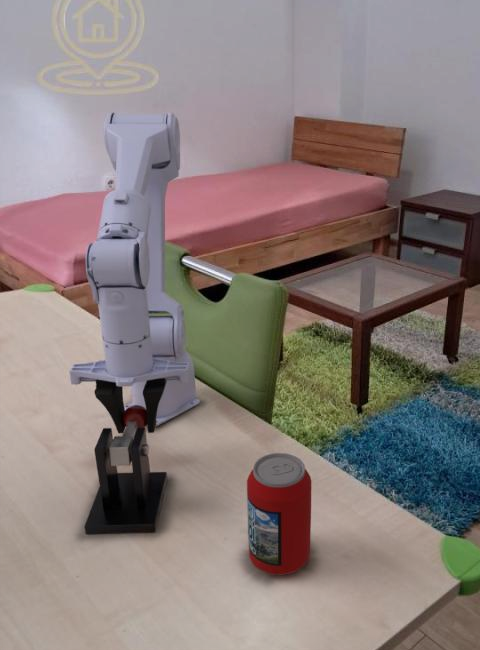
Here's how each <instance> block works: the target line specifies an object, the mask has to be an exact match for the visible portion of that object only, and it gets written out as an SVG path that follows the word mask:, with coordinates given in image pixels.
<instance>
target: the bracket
mask: <svg viewBox="0 0 480 650" xmlns="http://www.w3.org/2000/svg"><path fill="white" fill-rule="evenodd" d="M113 439H114V437H113V430H112V427H103V428H102V430H101V433H100V435H99V437H98V440H97V442H96V444H95V446H94V457H95V463H96V470H97V477H98V478H97V479H98V485H99V487H98V489H97V492H96V495H95V497H94V500H93V503H92V505H91V507H90V510H89V513H88V516H87V519H86V520H85V524H84V532H85V535H102V534H104V535H105V534H106V535H107V534H141V533H156V531H157V527H158V522H159V518H160V515H161V514H160V513H161V509H162V505H163V502H164V501H163V500H164V496H165V492H166V487H167V484H168V483H167V482H168V471H151V468H150V460H149V459H150V458H149V457H150V456H149V454H150V446H149V444H148V441H147V432H146V427H145V428H137V430H136V433H135V436H134V438H133V442H132V445H131V448H130V452H131V460H132V461H131V468H132V472H118V466H111V461H110V451H109V447H110V445H111V443H112V441H113Z"/></svg>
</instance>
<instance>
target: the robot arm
mask: <svg viewBox="0 0 480 650" xmlns="http://www.w3.org/2000/svg"><path fill="white" fill-rule="evenodd" d="M103 141H104V146H105V150H106V153H107V154H108V157H109V160H110V162H111V166H112V168H113V170H114V171H115V180H114V181H115V183H114V189H113V190H111V191H110V192H108V193H107V194H106V195H105V197H104V199H103V204H102V209H101V215H100V220H99V224H98V231H97V235H96V239H95V240H94V241H93V243H92V242H90V243H89V244H88V245H87V247H86V251H85V269H86V271H85V273H86V278H87V281H88V284H89V286H90V289H91V292H92V299H93V302H94V304H97V306H98V315H99V322H100V330H101V337H102V338H101V339H102V345H103V353H104V354H103V355H104V360H98V361H92V362H84V363H73V364H72V365H71V367H70V369H69V372H68V373H69V377H70V379H69V380H70V384H71V385H80V384H81V383H87V382H91V383H92V382H93V383H94V382H95V389H94V396H95V399H97V400H98V401H99V402H100V403H101V404H102V406H103V407H104V408H105V409H106V411H107V413H108V414H109V416H110V417H111V420H112V421H113V424H114V426H115V429H116V431H117V433H118V434H123V433H124V431H125V429H126V427H125V425H124V423H123V414H124V412H125V410H126V409H127V408H128V407H130V406H133V405H140V406H143V407H144V408H146V411H147V426H146V427H147V432H148V433H147V434H153V433H155V432H156V431H155V430H156V427H158V426H160V425H162V424H164V423H166V422H168V421H169V420H172V419H173V418H176V417H177V416H178V415H181V414H182V413H184V412H186V411H188V410H190V409H191V408H194V407H196V406H197V405H199V404H200V403H201V400H200V399H199V398H197V390H196V389H197V388H196V374H195V366H194V362H193V359H192V356H191V355H190V354H189V353H188V351H187V350H186V345H187V329H186V322H185V311H184V308H183V306H182V304H181V303H179V302H178V301H177V300H176V299H175V298H173V297H172V296H170V295H168V294H167V292H166V195H167V189H168V184H169V183H170V182H171V181H173V180H175V179H176V178H179V175H180V174H179V173H180V172H179V171H180V169H181V132H180V123H179V119H178V117H177V116H176V115H175V113H174V112H168V113H115V112H108V114H106V116H105V118H104V121H103ZM150 314H151V315H150ZM156 314H158V315H156ZM159 314H167V315H159ZM123 387H130V392H131V393H130V394H131V400H132V401H131V402H129V403H127V404H125V403H124V391H123Z"/></svg>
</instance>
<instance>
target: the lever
mask: <svg viewBox="0 0 480 650" xmlns="http://www.w3.org/2000/svg"><path fill="white" fill-rule="evenodd" d="M123 423H124V425H125V430H124V433H122V435H120V436H119V435H117V436H114V437H113V441H112V443H111V445H110V447H109V451H110V461H111V466H117V467H120V466H121V467H122V466H125V467H126V466H131V465H132V460H131V452H130V448H131V445H132V442H133V439H134V436H135V433H136V430H137V428H145V429H146V427H147V411H146V408H144V407H143V406H140V405H133V406H130V407H128V408H127V409H126V410H125V412H124V414H123Z"/></svg>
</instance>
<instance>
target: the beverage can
mask: <svg viewBox="0 0 480 650" xmlns="http://www.w3.org/2000/svg"><path fill="white" fill-rule="evenodd" d="M246 504H247V505H246V506H247V507H246V508H247V536H248V555H249V559H250V561H251V563H252V564H253V565H254V566H255V567H256V568H257V569H259V570H260V571H262V572H263V573H267V574H270V575H276V576H277V575H279V576H280V575H288V574H292V573H294V572H297V571H298V570H300V569H301V568H303V567H304V566H305V565H306V564H307V562H308V560H309V558H310V554H311V528H312V478H311V475H310V473H309V472H308V470H307V469H306V467H305V463H304V462H303V460H301V459H300V458H299V457H297V456H296V455H293V454H290V453H284V452H275V453H269V454H266V455H264V456H261V457H260V458H258V459H257V460H256V462H254V464H253V467H252V470H251V471H250V473H249V475H248V476H247V480H246Z"/></svg>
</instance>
